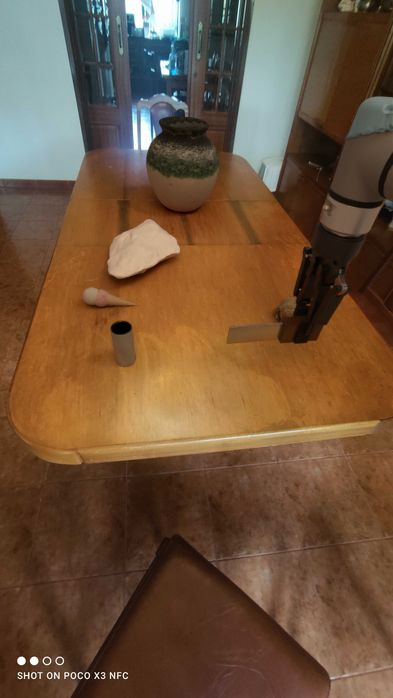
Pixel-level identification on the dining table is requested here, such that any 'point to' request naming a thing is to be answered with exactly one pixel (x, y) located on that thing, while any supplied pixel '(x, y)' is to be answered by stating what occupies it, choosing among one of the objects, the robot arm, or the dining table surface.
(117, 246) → the white rock slab
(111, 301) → the ice cream cone
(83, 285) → the dining table surface
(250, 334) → the knife
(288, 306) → the bread roll
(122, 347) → the grey cylinder
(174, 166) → the vase
